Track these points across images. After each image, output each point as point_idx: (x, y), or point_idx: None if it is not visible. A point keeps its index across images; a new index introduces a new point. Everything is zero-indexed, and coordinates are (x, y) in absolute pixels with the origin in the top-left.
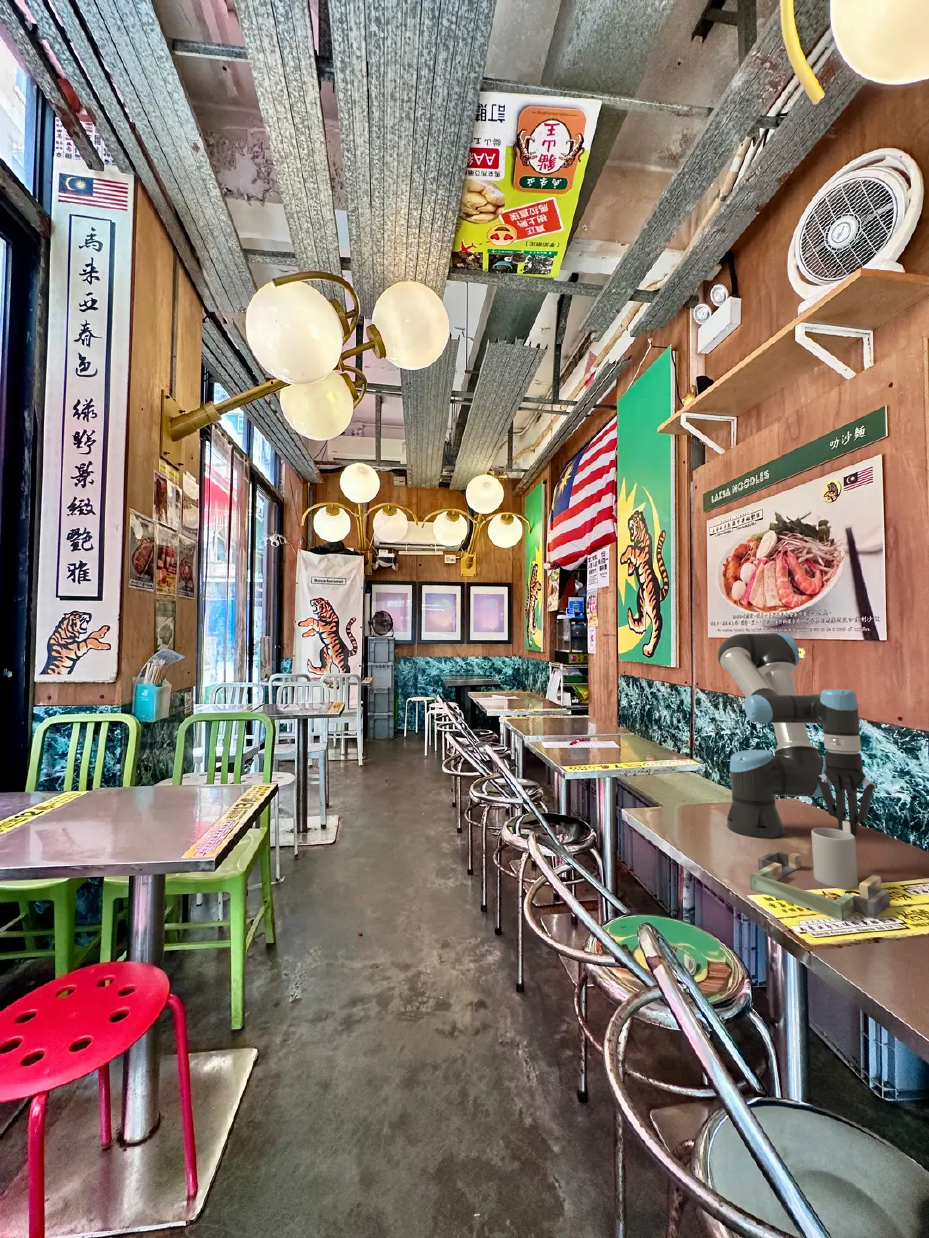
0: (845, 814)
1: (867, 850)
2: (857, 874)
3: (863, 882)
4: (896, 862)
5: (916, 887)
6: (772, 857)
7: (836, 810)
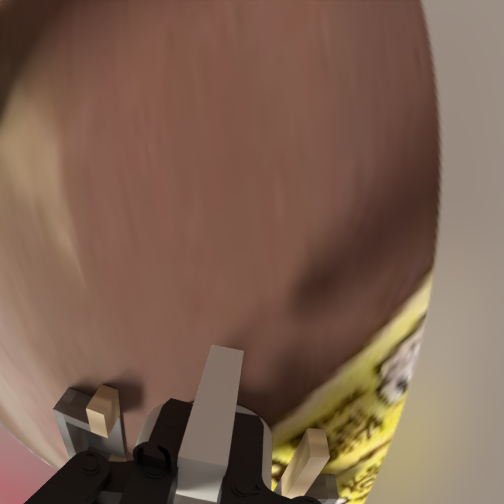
0: (169, 497)
1: (254, 28)
2: (271, 458)
3: (289, 494)
4: (373, 120)
5: (412, 354)
6: (73, 435)
7: (100, 492)
